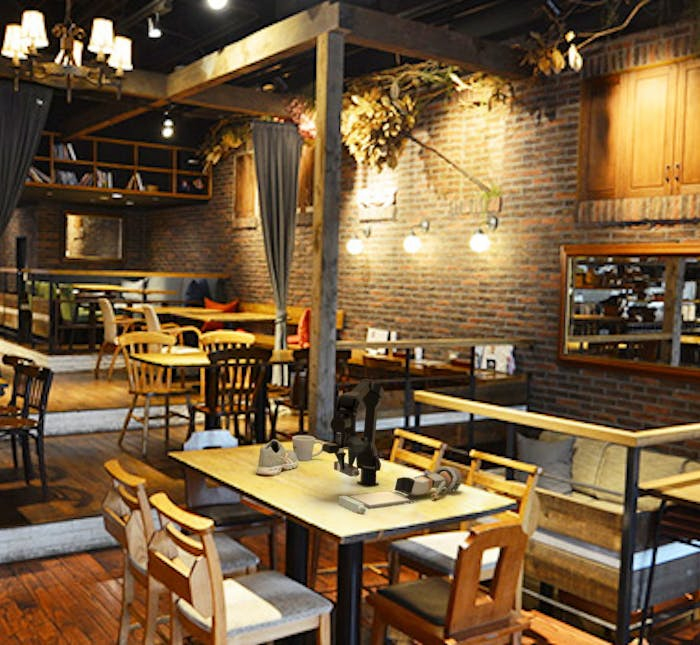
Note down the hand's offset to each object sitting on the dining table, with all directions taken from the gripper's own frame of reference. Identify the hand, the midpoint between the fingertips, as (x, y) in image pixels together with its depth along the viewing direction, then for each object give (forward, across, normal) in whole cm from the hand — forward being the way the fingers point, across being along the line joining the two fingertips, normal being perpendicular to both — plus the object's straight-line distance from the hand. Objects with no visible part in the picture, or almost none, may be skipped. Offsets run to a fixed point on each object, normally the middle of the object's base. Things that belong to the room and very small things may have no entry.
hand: (346, 469), depth 303 cm
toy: (+11, +33, -10) cm, 36 cm away
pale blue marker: (+11, -6, -14) cm, 19 cm away
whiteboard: (+11, +10, -9) cm, 17 cm away
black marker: (+1, 0, -1) cm, 1 cm away
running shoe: (+12, -2, +49) cm, 51 cm away
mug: (+12, +18, +62) cm, 66 cm away
